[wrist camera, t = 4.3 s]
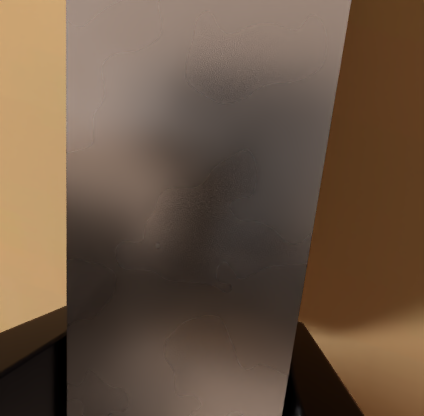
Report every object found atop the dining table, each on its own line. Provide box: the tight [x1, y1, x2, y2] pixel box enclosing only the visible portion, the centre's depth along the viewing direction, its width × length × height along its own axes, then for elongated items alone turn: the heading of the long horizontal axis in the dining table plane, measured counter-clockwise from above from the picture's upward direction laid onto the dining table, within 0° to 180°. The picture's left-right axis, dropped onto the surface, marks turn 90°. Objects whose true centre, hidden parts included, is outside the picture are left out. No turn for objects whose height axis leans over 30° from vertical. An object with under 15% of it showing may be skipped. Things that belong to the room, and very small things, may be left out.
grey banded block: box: [66, 0, 351, 416], centre depth 7 cm, size 18×4×4 cm, turn 176°
